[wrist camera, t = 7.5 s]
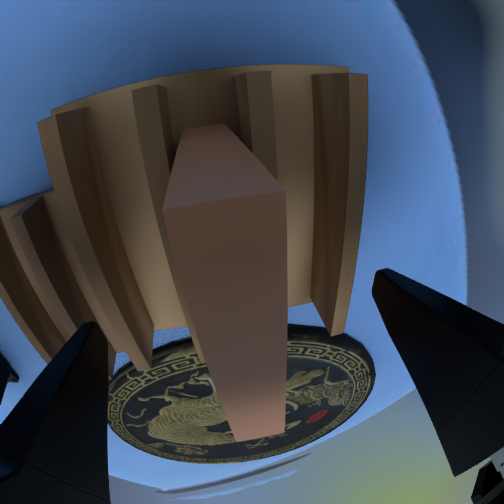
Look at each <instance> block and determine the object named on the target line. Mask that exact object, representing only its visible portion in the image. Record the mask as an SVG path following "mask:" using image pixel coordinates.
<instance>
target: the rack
mask: <svg viewBox="0 0 504 504" xmlns="http://www.w3.org/2000/svg"><path fill="white" fill-rule="evenodd" d="M51 115H52V116H51V117H48V118H46V119H44V120H41V121H39V122H37V123H38V129H39V134H40V138H41V143H42V147H43V152H44V156H45V160H46V164H47V168H48V171H49V175H50V179H51V182H52V186H53V189H54V192H55V195H56V199H57V202H58V205H59V208H60V211H61V214H62V217H63V220H64V222H65V225H66V228H67V231H68V233H69V236H70V238H71V241H72V244H73V246H74V249H75V251H76V253H77V256H78V258H79V261H80V263H81V265H82V268H83V270H84V272H85V274H86V277H87V279H88V281H89V283H90V285H91V287H92V289H93V292H94V294H95V296H96V298H97V300H98V302H99V304H100V306H101V308H102V310H103V312H104V314H105V315H106V317H107V319H108V321H109V323H110V325H111V327H112V328H113V330H114V332H115V334H116V336H117V337H118V339H119V341H120V343H121V344H122V346H123V348H124V349H125V351H126V353H127V354H128V356H129V358H130V359H131V361H132V362H133V364H134V366H135V367H136V369H137V370H138V371H146V370H151V367H152V348H153V333H154V331H155V330H162V329H169V328H176V327H183V326H188V329H189V332H190V334H191V337H192V340H193V343H194V346H195V349H196V351H197V354H198V357H199V360H200V362H201V364H203V363H206V361H205V358H204V356H203V353H202V350H201V347H200V344H199V341H198V338H197V335H196V331H195V328H194V325H193V322H192V319H191V316H190V312H189V309H188V306H187V302H186V299H185V296H184V292H183V289H182V285H181V282H180V278H179V275H178V271H177V267H176V264H175V260H174V256H173V252H172V248H171V244H170V241H169V237H168V232H167V228H166V224H165V220H164V216H163V211H162V209H163V204H164V200H165V195H166V191H167V187H168V183H169V179H170V175H171V171H172V167H173V164H174V160H175V156H176V153H177V149H178V145H179V142H180V139H181V135H182V132H183V129H189V128H195V127H201V126H208V125H215V124H223V123H224V124H225V125H226V126H227V127H228V128H229V129H230V130H231V131H232V132H233V133H234V134H235V135H236V136H237V137H238V138H239V139H240V140H241V141H242V143H243V144H244V145H245V146H246V147H247V148H248V149H249V150H250V151H251V152H252V153H253V154H254V155H255V157H256V158H257V159H258V160H259V161H260V162H261V163H262V164H263V165H264V166H265V168H266V169H267V170H268V171H269V172H270V173H271V174H272V175H273V176H274V178H275V179H276V180H277V181H278V182H279V183H280V184H281V186H282V187H283V188H284V189H285V190H286V213H287V274H288V307H292V306H297V305H302V304H306V303H311V302H313V303H314V305H315V307H316V309H317V311H318V313H319V315H320V317H321V319H322V321H323V323H324V325H325V327H326V329H327V330H328V332H329V334H330V336H335V335H338V334H342V333H344V328H345V324H346V319H347V314H348V309H349V304H350V298H351V293H352V287H353V281H354V275H355V269H356V262H357V255H358V248H359V241H360V233H361V224H362V215H363V205H364V194H365V181H366V166H367V145H368V75H366V74H357V73H349V67H343V66H329V65H308V64H269V65H248V66H234V67H223V68H214V69H206V70H199V71H192V72H185V73H179V74H174V75H168V76H163V77H158V78H153V79H149V80H144V81H140V82H136V83H132V84H128V85H124V86H121V87H117V88H113V89H110V90H107V91H103V92H100V93H97V94H94V95H91V96H88V97H85V98H82V99H79V100H76V101H73V102H71V103H68V104H65V105H63V106H60V107H58V108H55V109H53V110H51Z"/></svg>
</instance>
